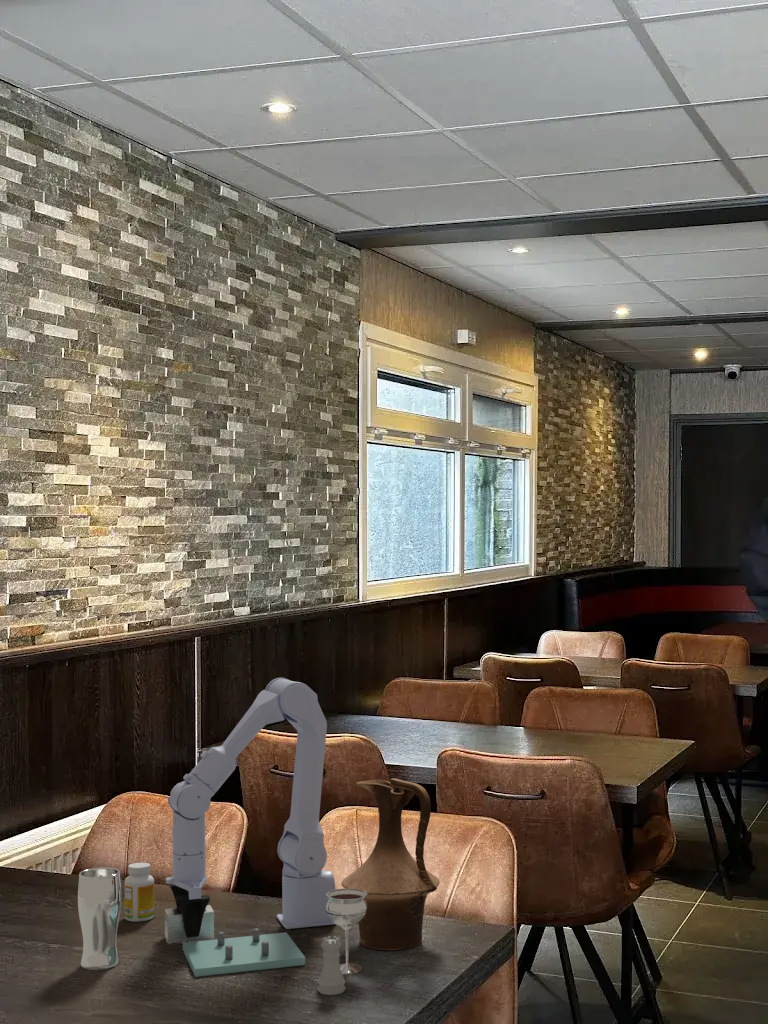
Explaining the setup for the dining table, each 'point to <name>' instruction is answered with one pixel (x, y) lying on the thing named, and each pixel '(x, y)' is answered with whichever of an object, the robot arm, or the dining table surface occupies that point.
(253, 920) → the dining table surface
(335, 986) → the rook chess piece
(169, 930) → the block
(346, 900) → the wineglass
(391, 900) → the pitcher
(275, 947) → the pin tray
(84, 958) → the beer glass
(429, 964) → the dining table surface
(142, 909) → the supplement bottle
